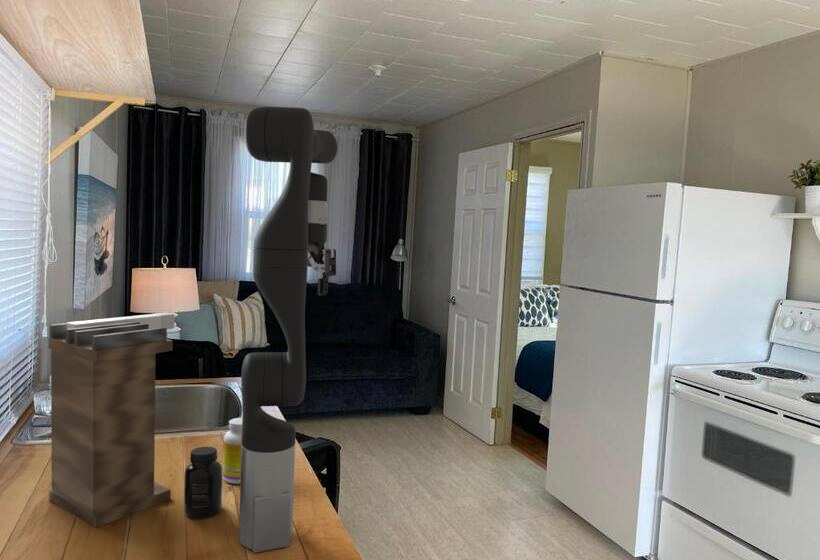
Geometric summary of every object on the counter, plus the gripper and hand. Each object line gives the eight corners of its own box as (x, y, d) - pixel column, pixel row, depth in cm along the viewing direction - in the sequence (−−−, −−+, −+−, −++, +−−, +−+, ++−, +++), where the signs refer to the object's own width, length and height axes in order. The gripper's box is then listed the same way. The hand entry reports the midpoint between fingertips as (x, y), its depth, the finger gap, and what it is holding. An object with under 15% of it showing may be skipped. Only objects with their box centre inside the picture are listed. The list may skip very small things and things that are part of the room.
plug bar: (165, 326, 134) (165, 312, 133) (174, 328, 132) (174, 314, 132) (66, 338, 116) (66, 322, 116) (75, 340, 115) (74, 324, 114)
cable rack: (124, 475, 131) (125, 316, 128) (172, 498, 122) (174, 327, 119) (49, 500, 119) (48, 324, 116) (96, 527, 109) (96, 337, 106)
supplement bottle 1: (229, 508, 119) (230, 448, 118) (204, 523, 113) (205, 460, 112) (201, 500, 122) (203, 441, 121) (175, 514, 116) (176, 452, 114)
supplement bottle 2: (245, 486, 129) (247, 427, 128) (217, 482, 130) (218, 424, 129) (259, 474, 135) (261, 417, 134) (232, 470, 137) (233, 414, 136)
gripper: (275, 219, 138) (273, 291, 139) (322, 221, 130) (320, 297, 131) (299, 220, 144) (297, 289, 146) (345, 222, 136) (343, 295, 138)
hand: (308, 293), depth 139 cm, fingers open, 8 cm apart
